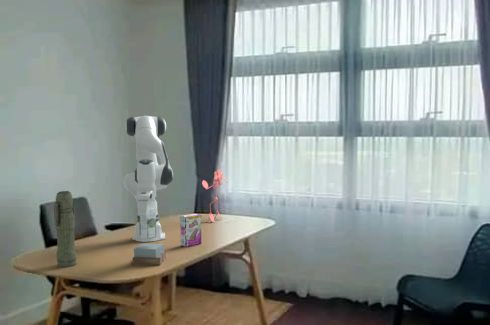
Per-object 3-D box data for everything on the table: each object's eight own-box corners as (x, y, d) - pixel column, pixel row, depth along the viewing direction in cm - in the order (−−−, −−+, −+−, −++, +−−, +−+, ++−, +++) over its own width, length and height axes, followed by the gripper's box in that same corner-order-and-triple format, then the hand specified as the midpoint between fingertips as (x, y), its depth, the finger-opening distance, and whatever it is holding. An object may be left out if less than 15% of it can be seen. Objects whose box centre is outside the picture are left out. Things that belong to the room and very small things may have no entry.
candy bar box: (186, 247, 293) (185, 217, 292) (180, 246, 297) (179, 215, 295) (202, 243, 301) (201, 214, 300) (196, 242, 304) (195, 213, 303)
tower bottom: (139, 259, 271) (139, 251, 271) (165, 259, 271) (165, 251, 270) (132, 266, 258) (132, 258, 258) (160, 266, 258) (159, 257, 257)
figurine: (199, 223, 359) (199, 170, 356) (219, 217, 381) (219, 167, 379) (219, 226, 352) (219, 171, 349) (238, 219, 374) (239, 168, 371)
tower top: (143, 251, 271) (142, 243, 271) (164, 252, 269) (164, 244, 268) (134, 256, 260) (133, 248, 260) (156, 257, 258) (155, 249, 258)
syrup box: (148, 235, 268) (147, 206, 267) (156, 237, 265) (155, 207, 263) (139, 238, 264) (138, 208, 263) (147, 239, 260) (146, 209, 259)
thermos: (82, 262, 266) (79, 190, 263) (67, 268, 254) (64, 193, 252) (66, 261, 268) (63, 189, 266) (51, 267, 257) (47, 193, 254)
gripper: (145, 191, 273) (146, 218, 274) (134, 196, 253) (135, 226, 254) (158, 190, 273) (158, 218, 274) (148, 196, 252) (149, 226, 253)
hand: (147, 222), depth 264 cm, fingers closed on syrup box, 7 cm apart
